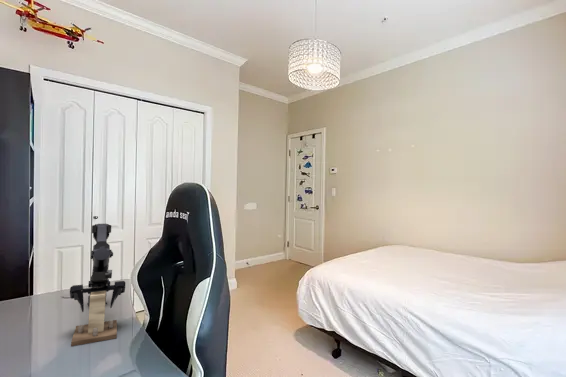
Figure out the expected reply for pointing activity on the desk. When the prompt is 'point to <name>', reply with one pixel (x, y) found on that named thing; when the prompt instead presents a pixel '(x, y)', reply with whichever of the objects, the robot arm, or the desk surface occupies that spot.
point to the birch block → (97, 311)
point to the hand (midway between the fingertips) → (97, 309)
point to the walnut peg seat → (94, 333)
